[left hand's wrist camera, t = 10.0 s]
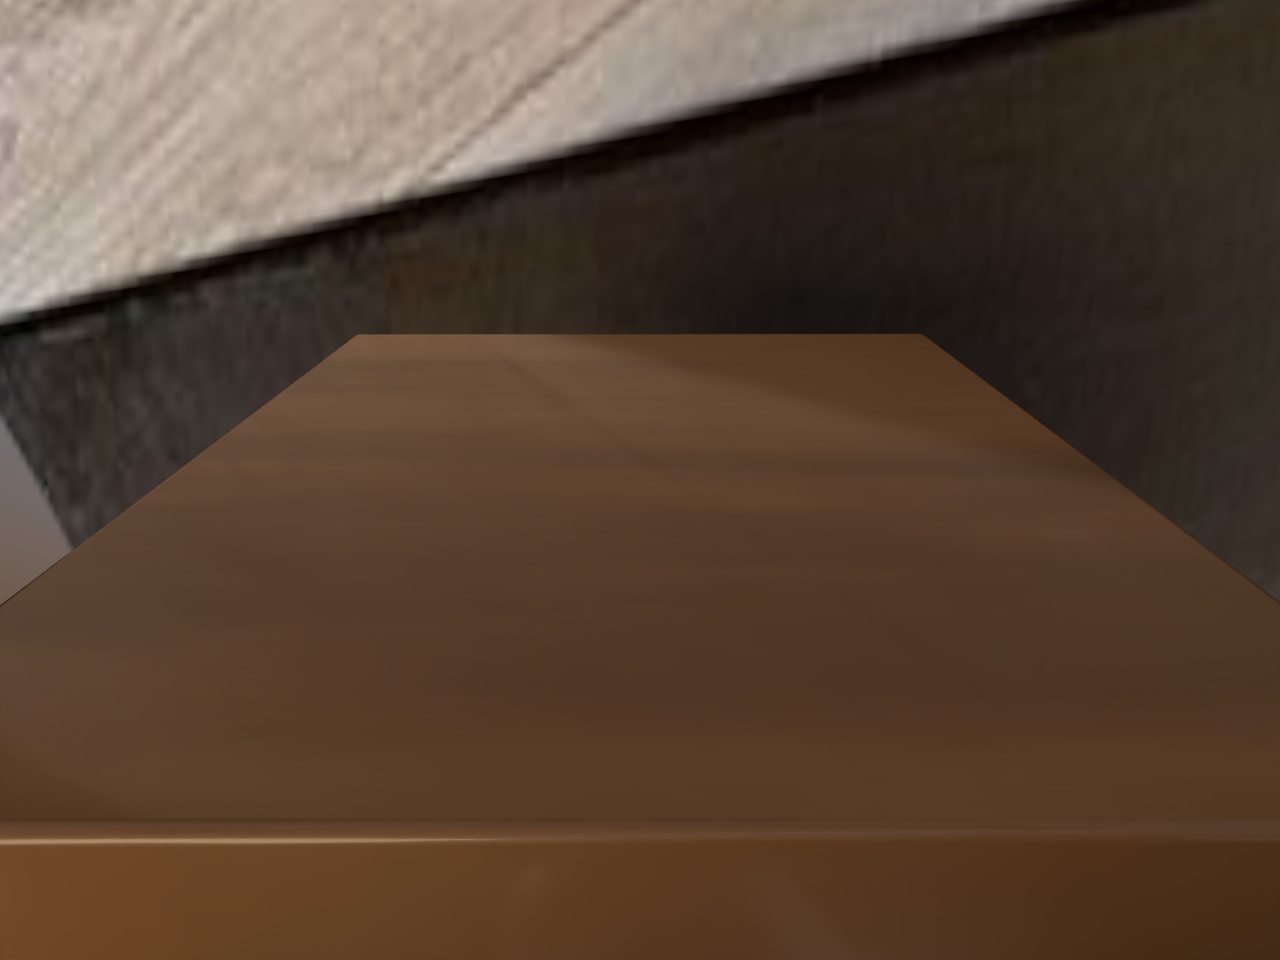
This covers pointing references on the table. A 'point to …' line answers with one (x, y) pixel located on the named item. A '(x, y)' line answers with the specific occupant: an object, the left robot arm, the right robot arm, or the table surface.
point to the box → (640, 677)
